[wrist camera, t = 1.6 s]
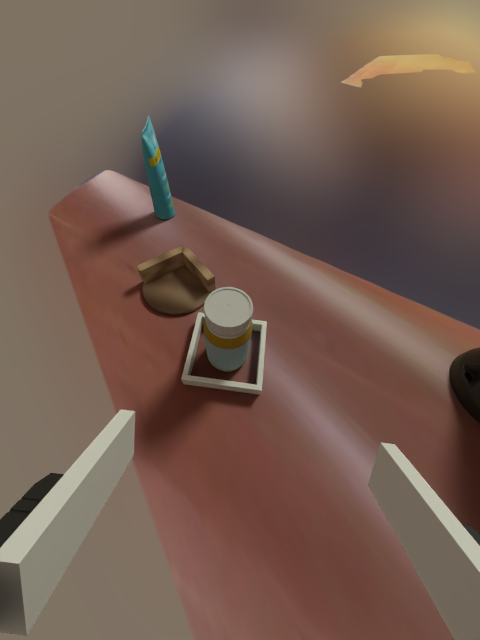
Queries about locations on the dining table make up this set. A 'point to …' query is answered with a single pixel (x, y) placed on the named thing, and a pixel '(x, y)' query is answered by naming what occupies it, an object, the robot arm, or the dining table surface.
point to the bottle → (227, 328)
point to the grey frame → (224, 384)
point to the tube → (156, 174)
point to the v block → (176, 282)
